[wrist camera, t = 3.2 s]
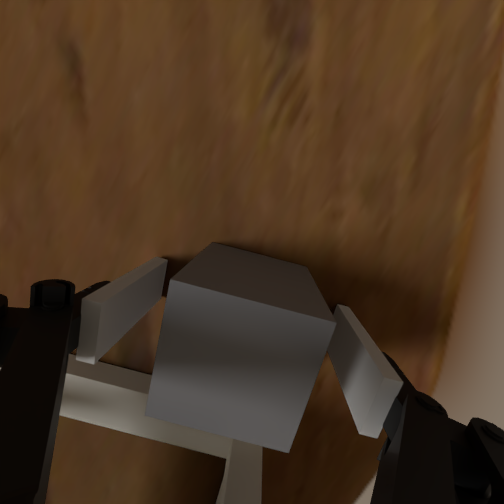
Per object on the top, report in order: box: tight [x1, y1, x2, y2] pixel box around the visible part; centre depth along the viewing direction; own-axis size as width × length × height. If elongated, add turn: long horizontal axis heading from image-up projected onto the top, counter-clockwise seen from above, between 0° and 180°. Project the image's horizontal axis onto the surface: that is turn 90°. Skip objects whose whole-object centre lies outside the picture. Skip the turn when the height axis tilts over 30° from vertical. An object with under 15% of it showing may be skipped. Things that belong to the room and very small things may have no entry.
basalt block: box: [145, 242, 337, 453], centre depth 13 cm, size 6×6×7 cm
